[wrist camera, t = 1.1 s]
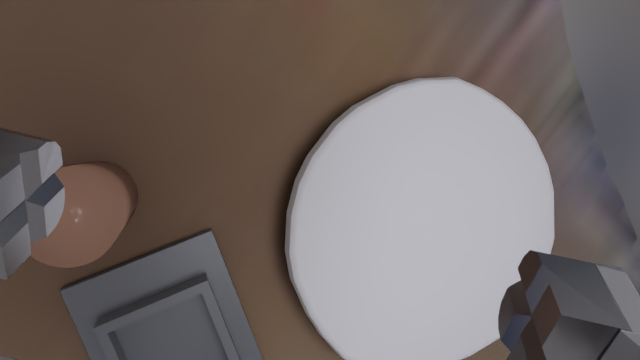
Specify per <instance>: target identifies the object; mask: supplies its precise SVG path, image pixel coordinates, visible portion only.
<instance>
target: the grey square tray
mask: <svg viewBox="0 0 640 360" xmlns="http://www.w3.org/2000/svg"><path fill="white" fill-rule="evenodd" d="M60 293H61V295H62V297H63V299H64V302H65V304H66V306H67V308H68V311H69V313H70V315H71V317H72V320H73V322H74V324H75V326H76V328H77V331H78V333H79V335H80V337H81V340H82V342H83V344H84V346H85V348H86V351H87V353H88V355H89V357H90V360H263V359H262V356H261V354H260V351H259V349H258V346H257V344H256V341H255V339H254V336H253V334H252V331H251V329H250V326H249V324H248V321H247V319H246V316H245V313H244V311H243V308H242V306H241V303H240V301H239V298H238V296H237V293H236V291H235V288H234V286H233V283H232V281H231V278H230V276H229V273H228V271H227V268H226V266H225V263H224V260H223V258H222V255H221V253H220V250H219V248H218V245H217V243H216V240H215V238H214V235H213V233H212V230H211V229H209V230H206V231H204V232H201V233H199V234H196V235H194V236H191V237H189V238H186V239H184V240H181V241H179V242H176V243H174V244H171V245H169V246H166V247H164V248H161V249H159V250H156V251H154V252H151V253H149V254H146V255H144V256H141V257H138V258H136V259H133V260H131V261H128V262H126V263H123V264H121V265H118V266H116V267H113V268H111V269H108V270H106V271H103V272H101V273H98V274H96V275H93V276H91V277H88V278H86V279H83V280H81V281H78V282H76V283H73V284H71V285H68V286H66V287H63V288H62V289H61V291H60Z"/></svg>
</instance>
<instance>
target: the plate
mask: <svg viewBox="0 0 640 360" xmlns="http://www.w3.org/2000/svg"><path fill="white" fill-rule="evenodd" d="M554 238H555V237H554V189H553V185H552V180H551V176H550V171H549V167H548V164H547V162H546V160H545V158H544V155H543V153H542V151H541V149H540V147H539V145H538V143H537V140H536V138H535V137H534V135H533V134H532V133H531V131H530V130H529V129H528V127H527V126H526V124H525V123H524V122H523V120H522V119H521V118H520V117H519V116H518V115H517V114H516V113H515V112H513V111H512V110H511V109H510V108H509V107H508V106H507V105H506V104H505V103H504V102H502V101H501V100H499V99H498V98H496V97H495V96H493V95H492V94H490V93H488V92H487V91H485V90H484V89H482V88H480V87H478V86H475V85H473V84H471V83H468V82H466V81H464V80H461V79H459V78H456V77H435V78H415V79H412V80H408V81H404V82H401V83H397V84H394V85H390V86H389V87H387V88H385V89H383V90H381V91H379V92H377V93H375V94H373V95H372V96H370V97H368V98H366V99H364V100H362V101H360V102H358V103H356V104H355V105H353V106H351V107H350V108H349V109H348V110H346V111H345V112H344V113H343V114H342V115H340V116H339V117H338V118H337V119H336V120H335V121H333V122H332V123H331V124H330V126H329V127H328V128H327V130H326V131H325V132H324V134H323V135H322V136H321V137H320V139H319V140H318V141H317V143H316V144H315V145H314V147H313V148H312V149H311V150H310V152H309V153H308V154H307V156H306V158H305V160H304V162H303V164H302V166H301V168H300V170H299V172H298V174H297V176H296V178H295V181H294V185H293V189H292V192H291V196H290V200H289V204H288V208H287V212H286V232H285V256H286V261H287V267H288V272H289V277H290V280H291V282H292V284H293V286H294V289H295V291H296V293H297V295H298V298H299V300H300V302H301V304H302V307H303V309H304V311H305V313H306V314H307V316H308V318H309V319H310V321H311V322H312V324H313V325H314V327H315V328H316V330H317V331H318V333H319V334H320V335H321V336H322V338H323V339H324V340H325V341H326V342H327V343H328V344H329V345H330V346H331V347H332V348H333V349H334V350H335V352H336V353H337V354H338V355H339V356H340V357H342V358H344V359H346V360H462V359H464V358H466V357H469V356H471V355H473V354H474V353H476V352H477V351H479V350H481V349H482V348H484V347H486V346H487V345H489V344H491V343H492V342H494V341H496V340H497V339H499V338H500V334H499V330H498V315H499V310H500V305H501V301H502V299H503V297H504V295H505V292H506V290H507V288H508V287H509V286H511V285H513V284H515V283H517V282H518V281H520V280H521V278H520V274H519V271H518V266H519V265H520V263H521V261H522V259H523V257H524V256H525V255H526V254H527V253H528V252H529V251H530V250H532V251H537V252H542V253H546V254H551V250H552V246H553V242H554Z"/></svg>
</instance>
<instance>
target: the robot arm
mask: <svg viewBox="0 0 640 360" xmlns="http://www.w3.org/2000/svg"><path fill="white" fill-rule="evenodd" d="M62 165H63V162H62V154H61V147H60V146H59V145H58V144H57V143H56V142H55V141H52V140H48V139H44V138H40V137H36V136H32V135H28V134H24V133H20V132H15V131H11V130H7V129H3V128H0V279H5V280H7V279H8V278H9V277H10V276H11V275H12V274H13V273H14V272H15V271H16V270H17V269H18V268H19V267H20V265H21V264H22V263H23V262H24V261H25V260H26V259H27V258H28V257H29V256H30V255H31V245H30V243H33V242H35V241H38V240H41V239H44V238H46V237H48V235H49V234H50V233H51V232H52V231H53V230H54V229H55V227H56V226H57V224H58V222H59V219H60V217H61V215H62V213H63V209H64V202H65V189H64V185H63V184H62V183H61V181H60V180H59V179H58V177H57V176H56V175H55V173H56V172H57V171H58V170H59V168H60V167H61V166H62ZM518 271H519V274H520V278H521V280H520V281H518V282H517V283H515V284H513V285H511V286H509V287H508V288H507V290H506V292H505V295H504V297H503V299H502V301H501V305H500V310H499V315H498V330H499V334H500V339H501V341H502V343H503V344H504V345H505V346H506V347H507V348H508V349H509V350H510V351H511V353H510V354H509V356H508V358H507V360H640V296H639V294H638V292H637V290H636V289H635V287H634V285H633V284H632V282H631V280H630V278H629V277H628V275H627V273H626V272H624V271H623V270H622V269H620V268H618V267H613V266H608V265H603V264H598V263H592V262H585V261H580V260H576V259H571V258H566V257H561V256H556V255H551V254H546V253H542V252H537V251H532V250H530V251H529V252H528V253H527V254H526V255H525V256H524V257H523V259H522V261H521V263H520V265H519V266H518ZM0 360H17V359H12V358H8V357H4V356H0Z"/></svg>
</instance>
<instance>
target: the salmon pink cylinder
mask: <svg viewBox="0 0 640 360" xmlns="http://www.w3.org/2000/svg"><path fill="white" fill-rule="evenodd" d="M55 175H56V176H57V177H58V179H59V180H60V181H61V183H62V184H63V185H64V189H65V202H64V209H63V213H62V215H61V217H60V219H59V222H58V224H57V226H56V227H55V229H54V230H53V231H52V232H51V233H50V234H49V235H48V237H46V238H44V239H41V240H38V241H35V242H33V243H30V245H31V255H30V256H31V257H32V258H34V259H35V260H37V261H39V262H41V263H43V264H45V265H49V266H52V267H58V268H73V267H79V266H83V265H86V264H88V263H91V262H93V261H95V260H96V259H98V258H99V257H101V256H102V255H103V254H105V253H106V252H107V251H108V250H109V248H110V247H111V246H112V245H113V243H114V242H115V240H116V239H117V237H118V236H119V234H120V233H121V231H122V230H123V228H124V227H125V225H126V224H127V222H128V221H129V219H130V218H131V216H132V215H133V213H134V211H135V209H136V206H137V201H138V193H137V188H136V185H135V183H134V181H133V179H132V178H131V176H130V175H129V174H128V173H127V172H126V171H125V170H124V169H122V168H121V167H119V166H117V165H115V164H112V163H109V162H101V161H100V162H90V163H84V164H78V165H71V166H65V167H60V168H59V170H58V171H57V172H56V173H55Z"/></svg>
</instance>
